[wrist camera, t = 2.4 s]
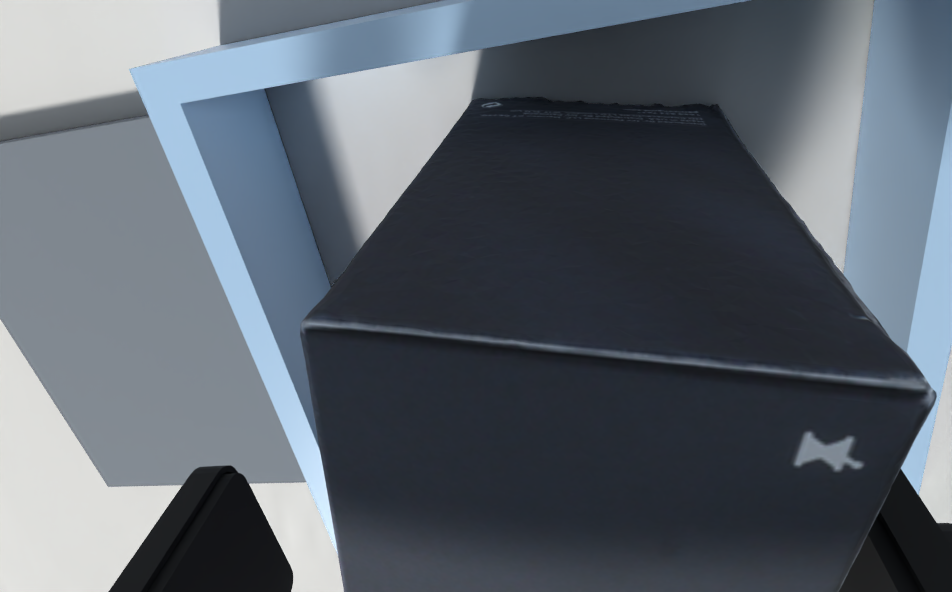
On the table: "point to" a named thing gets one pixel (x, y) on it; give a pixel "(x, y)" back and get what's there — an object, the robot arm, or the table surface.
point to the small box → (602, 369)
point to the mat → (129, 311)
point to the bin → (505, 22)
